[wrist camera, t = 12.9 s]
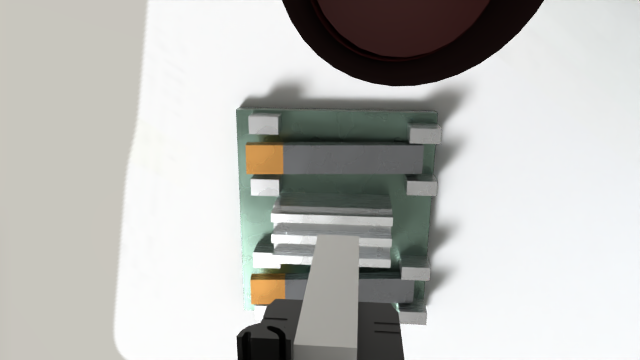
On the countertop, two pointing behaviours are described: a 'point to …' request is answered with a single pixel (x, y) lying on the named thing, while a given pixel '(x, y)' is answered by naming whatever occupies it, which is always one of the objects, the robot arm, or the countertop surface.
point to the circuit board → (338, 198)
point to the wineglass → (408, 35)
